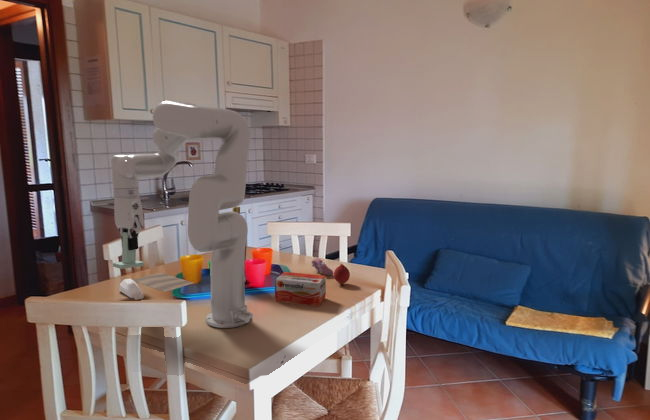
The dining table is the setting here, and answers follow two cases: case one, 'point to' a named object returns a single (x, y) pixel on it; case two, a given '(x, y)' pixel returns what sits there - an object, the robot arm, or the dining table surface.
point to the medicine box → (300, 288)
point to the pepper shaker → (131, 289)
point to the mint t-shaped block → (127, 255)
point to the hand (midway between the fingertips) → (130, 248)
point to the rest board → (162, 282)
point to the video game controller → (321, 267)
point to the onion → (341, 274)
